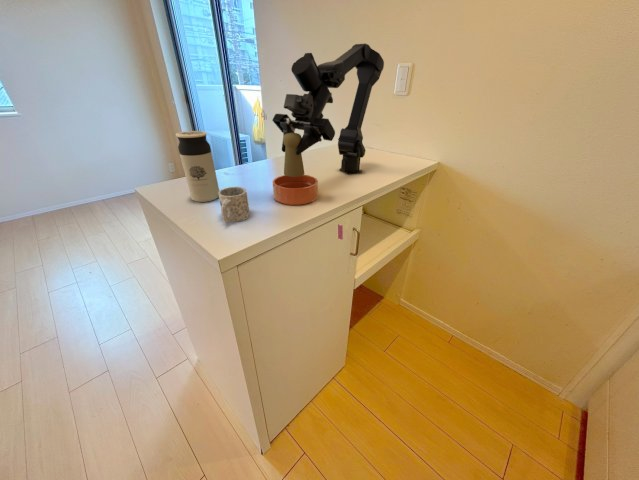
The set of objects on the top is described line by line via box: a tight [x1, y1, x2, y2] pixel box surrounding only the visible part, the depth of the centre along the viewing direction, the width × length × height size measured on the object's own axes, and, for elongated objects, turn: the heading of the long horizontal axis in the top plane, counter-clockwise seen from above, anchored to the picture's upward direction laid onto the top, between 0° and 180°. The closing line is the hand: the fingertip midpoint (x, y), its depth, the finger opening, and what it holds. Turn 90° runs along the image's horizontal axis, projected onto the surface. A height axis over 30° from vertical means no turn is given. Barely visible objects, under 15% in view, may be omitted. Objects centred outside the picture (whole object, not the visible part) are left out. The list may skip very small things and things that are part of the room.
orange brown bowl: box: [272, 174, 319, 206], centre depth 77 cm, size 13×13×5 cm
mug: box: [218, 186, 251, 224], centre depth 64 cm, size 10×7×7 cm, turn 174°
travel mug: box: [175, 130, 220, 203], centre depth 72 cm, size 8×8×18 cm
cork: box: [282, 132, 305, 177], centre depth 72 cm, size 6×6×11 cm
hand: (289, 152), depth 71 cm, fingers closed on cork, 5 cm apart
